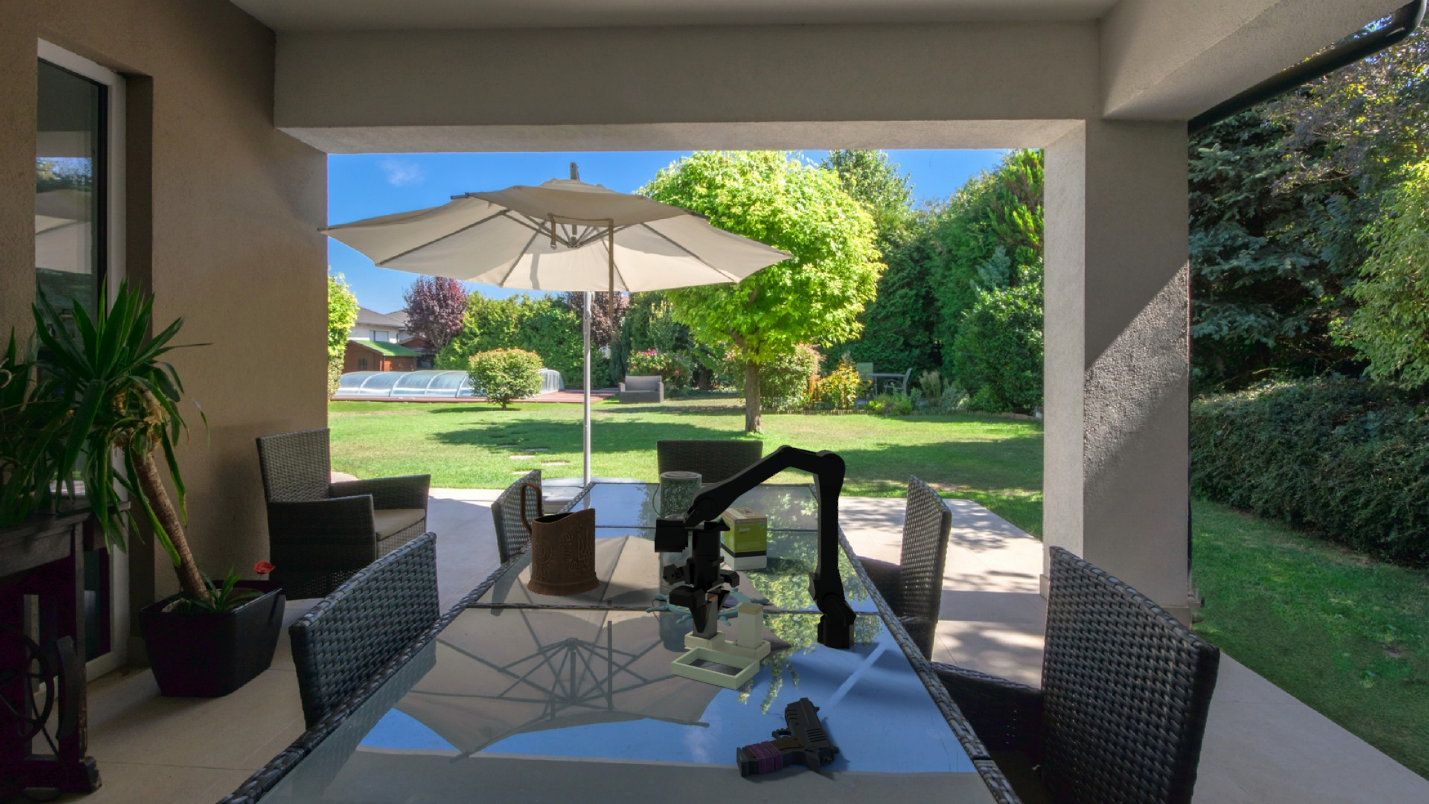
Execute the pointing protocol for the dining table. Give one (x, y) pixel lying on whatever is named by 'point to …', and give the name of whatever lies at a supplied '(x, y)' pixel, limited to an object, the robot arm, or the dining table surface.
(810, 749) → the handgun
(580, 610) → the dining table surface
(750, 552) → the tea box
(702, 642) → the fuse block
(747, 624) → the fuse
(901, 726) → the dining table surface
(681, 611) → the decorative ship wheel
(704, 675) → the tray
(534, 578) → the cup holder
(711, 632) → the block
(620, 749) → the dining table surface
